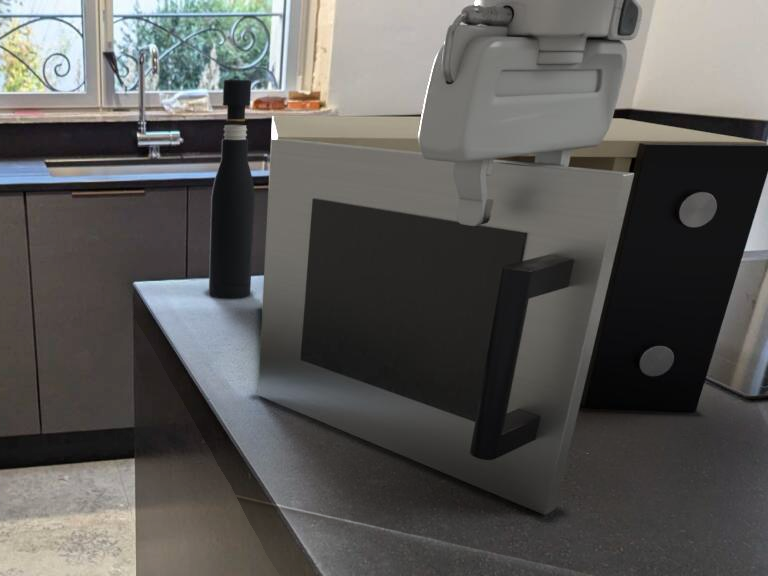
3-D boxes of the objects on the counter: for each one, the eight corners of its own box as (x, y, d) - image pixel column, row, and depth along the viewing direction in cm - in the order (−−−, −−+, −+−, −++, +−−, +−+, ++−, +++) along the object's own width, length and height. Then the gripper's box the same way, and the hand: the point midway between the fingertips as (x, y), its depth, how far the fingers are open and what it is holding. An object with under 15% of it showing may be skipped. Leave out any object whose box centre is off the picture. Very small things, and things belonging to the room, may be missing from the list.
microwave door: (498, 542, 61) (573, 182, 50) (211, 409, 84) (219, 143, 73) (555, 509, 66) (634, 173, 55) (268, 392, 89) (283, 138, 78)
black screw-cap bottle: (200, 294, 126) (205, 80, 113) (222, 285, 131) (229, 79, 118) (236, 300, 123) (245, 81, 110) (257, 291, 128) (268, 80, 115)
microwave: (699, 416, 83) (782, 144, 72) (262, 399, 87) (277, 138, 76) (577, 318, 115) (622, 118, 104) (262, 309, 119) (272, 115, 108)
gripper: (501, 0, 48) (463, 241, 54) (654, 13, 60) (609, 209, 65) (410, 5, 52) (384, 227, 58) (569, 16, 64) (534, 200, 70)
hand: (505, 217), depth 62 cm, fingers open, 7 cm apart
